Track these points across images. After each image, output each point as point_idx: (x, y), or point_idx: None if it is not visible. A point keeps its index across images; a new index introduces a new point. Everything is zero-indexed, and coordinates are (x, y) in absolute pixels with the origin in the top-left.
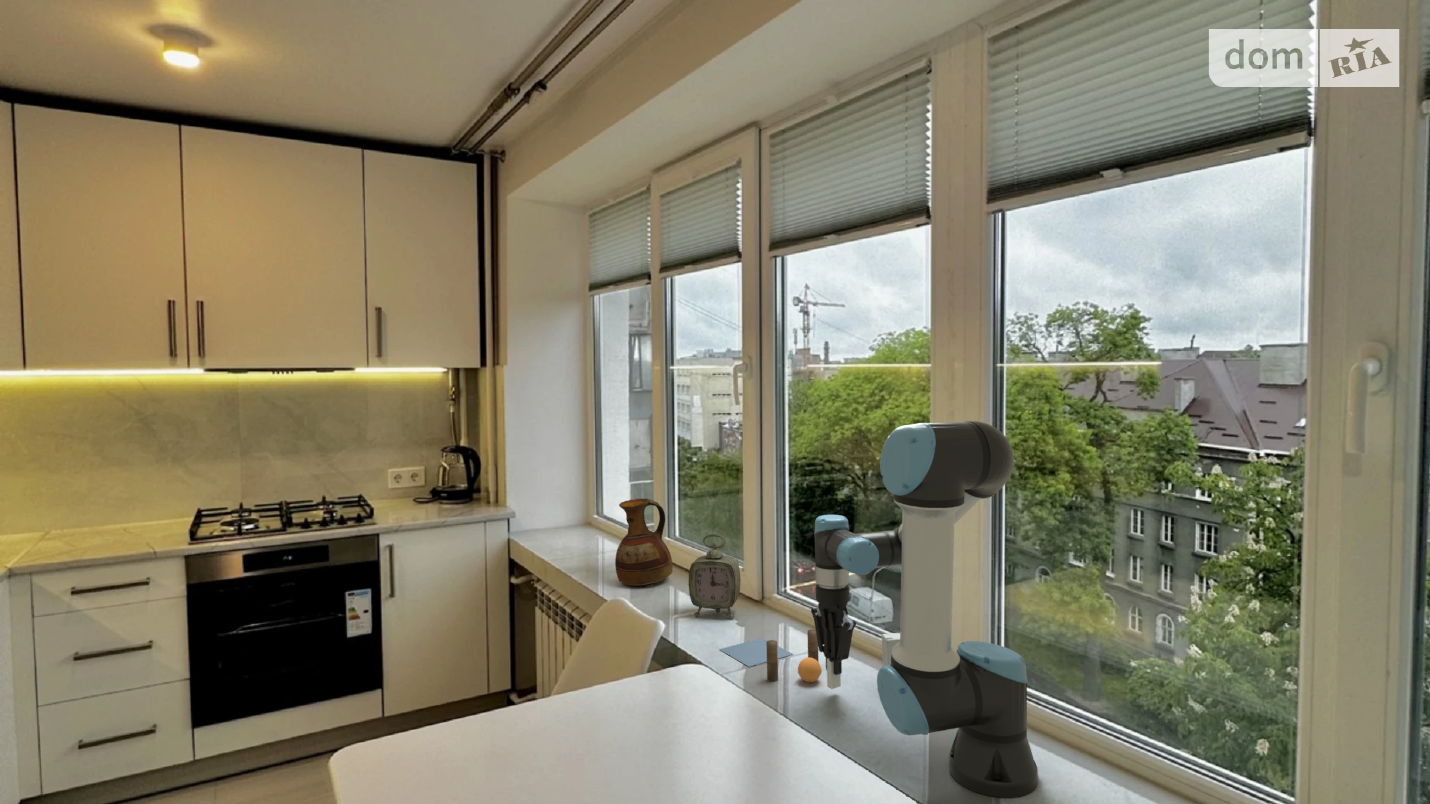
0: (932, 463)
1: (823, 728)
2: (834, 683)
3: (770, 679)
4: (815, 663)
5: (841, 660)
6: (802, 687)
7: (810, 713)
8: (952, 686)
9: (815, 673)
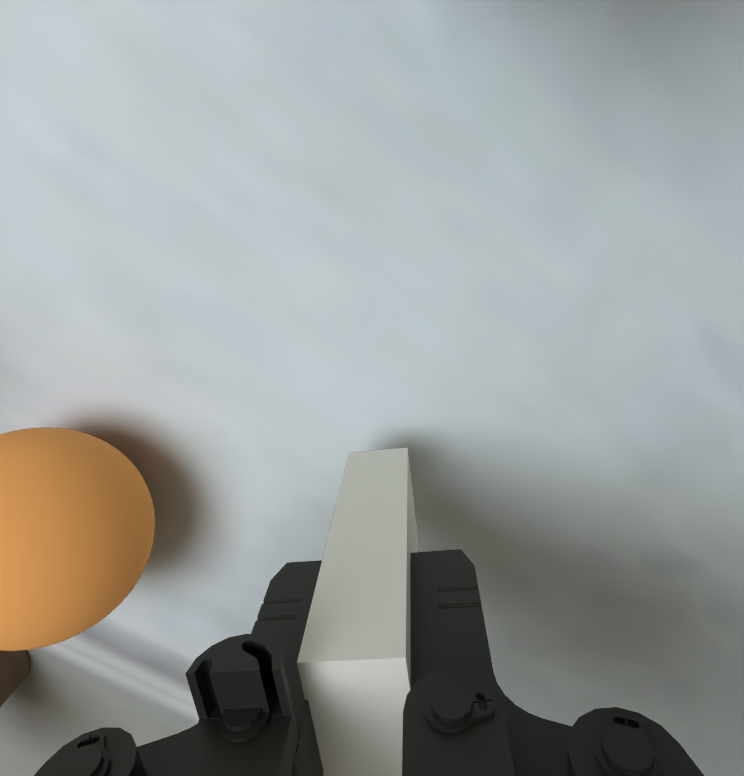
0: None
1: (735, 752)
2: (415, 535)
3: (15, 688)
4: (49, 565)
5: (501, 696)
6: (179, 572)
7: (534, 714)
8: None
9: (140, 541)
